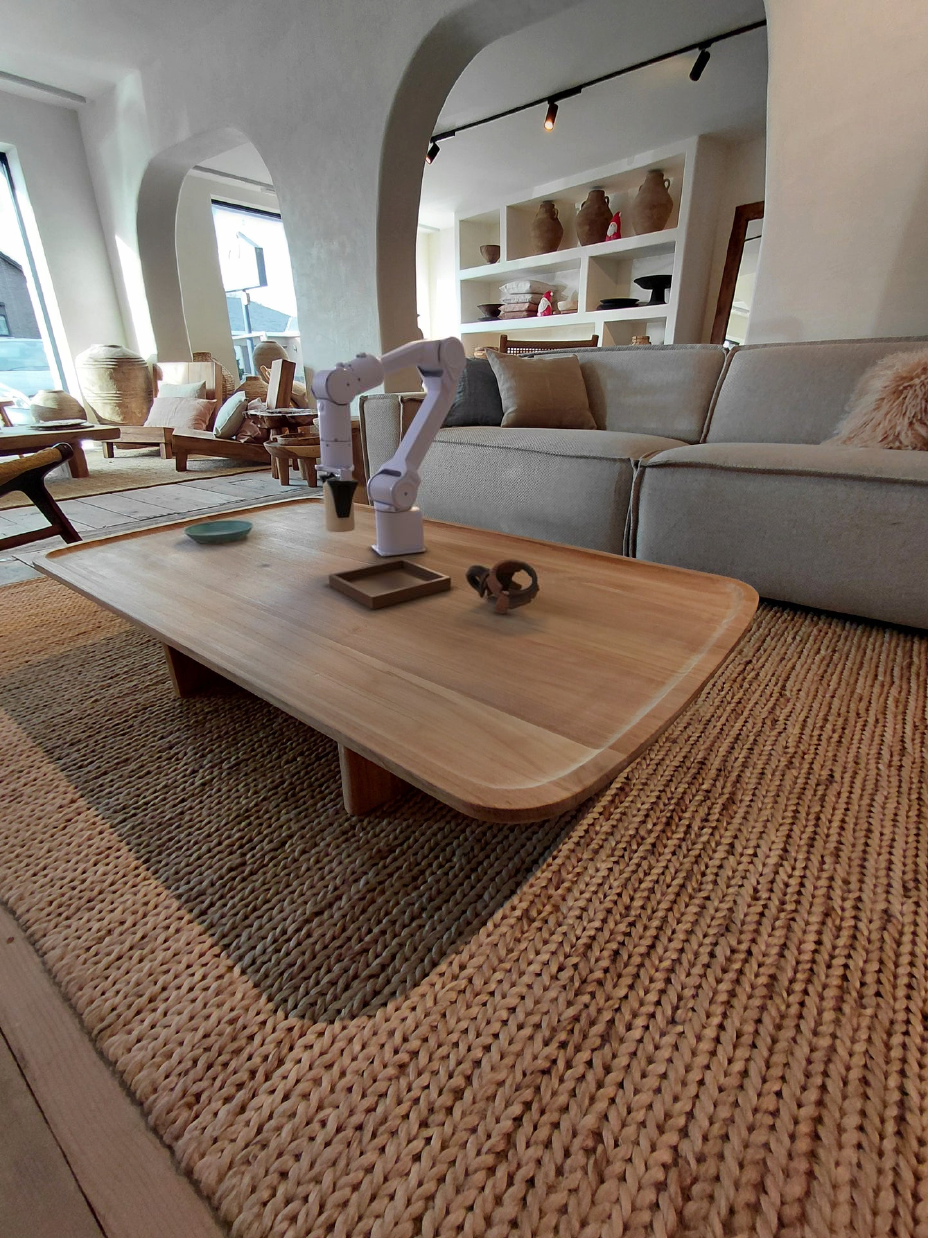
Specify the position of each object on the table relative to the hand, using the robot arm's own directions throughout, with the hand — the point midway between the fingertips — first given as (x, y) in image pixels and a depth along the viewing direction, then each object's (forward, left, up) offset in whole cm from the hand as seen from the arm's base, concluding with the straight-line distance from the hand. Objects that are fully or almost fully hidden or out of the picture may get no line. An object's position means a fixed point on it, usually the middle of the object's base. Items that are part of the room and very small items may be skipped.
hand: (340, 514), depth 110 cm
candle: (0, 0, -3) cm, 3 cm away
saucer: (+21, -30, -10) cm, 38 cm away
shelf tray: (-4, +18, -10) cm, 21 cm away
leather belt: (-18, +33, -10) cm, 39 cm away
